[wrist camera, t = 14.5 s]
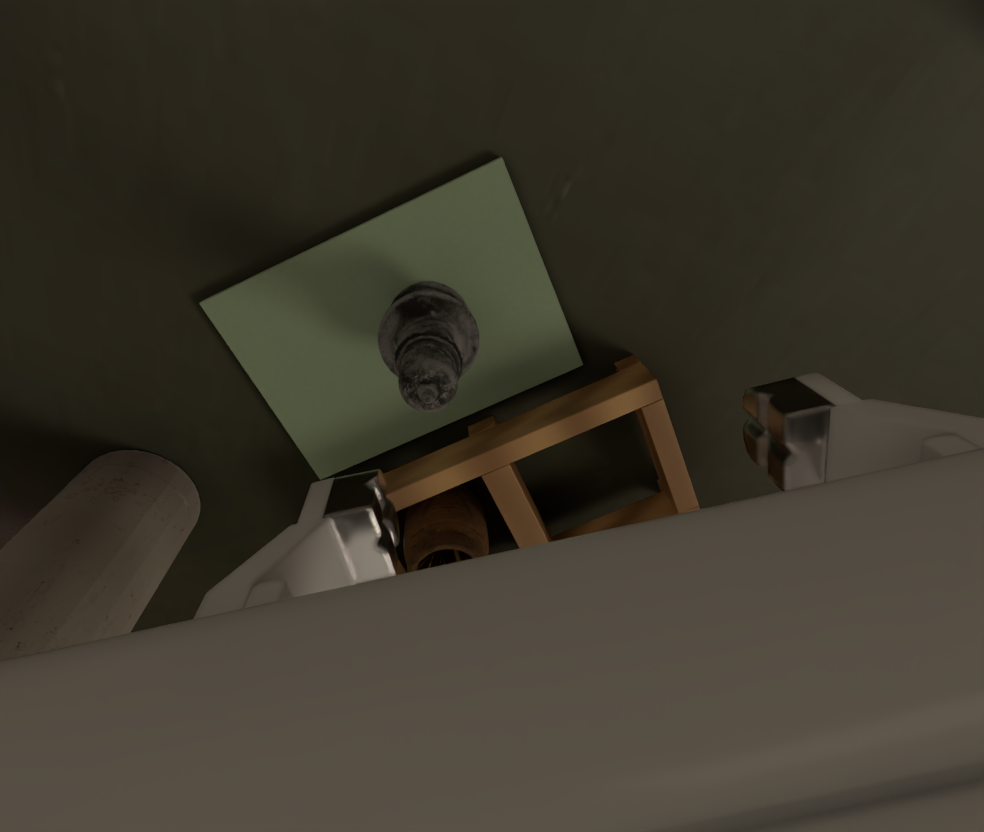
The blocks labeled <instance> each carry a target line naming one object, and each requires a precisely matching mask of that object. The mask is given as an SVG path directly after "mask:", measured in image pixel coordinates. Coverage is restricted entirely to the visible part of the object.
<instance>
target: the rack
mask: <svg viewBox="0 0 984 832" xmlns="http://www.w3.org/2000/svg"><path fill="white" fill-rule="evenodd" d="M614 365H615V367H616V370H617V373H615V374H613V375H610V376H608V377H606V378H603V379H601V380H599V381H596V382H594V383H592V384H590V385H587V386H585V387H583V388H580V389H578V390H576V391H573V392H571V393H569V394H566V395H564V396H562V397H560V398H557V399H555V400H553V401H550V402H548V403H546V404H543V405H541V406H539V407H536V408H534V409H532V410H530V411H527V412H525V413H523V414H520V415H518V416H516V417H513V418H511V419H509V420H506V421H504V422H502V423H500V424H498V423H497V421H496V419H495V417H494V416H491V417H489V418H486V419H484V420H482V421H479V422H477V423H475V424H473V425H470V426H468V432H469V437H467V438H465V439H463V440H460V441H458V442H456V443H453V444H451V445H449V446H447V447H444V448H442V449H440V450H437V451H435V452H433V453H430V454H428V455H426V456H423V457H421V458H419V459H417V460H414V461H412V462H410V463H407V464H405V465H403V466H400V467H398V468H396V469H393V470H391V471H389V472H387V473H384V474H383V475H384V477H385V480H386V483H387V485H388V486H387V495H386V498H388V499H389V500H390V501H392V502H393V504H394V507H395V510H396V512H397V511H399V510H401V509H404V508H406V507H408V506H411V505H413V504H416V503H418V502H420V501H423V500H425V499H427V498H430V497H432V496H434V495H437V494H439V493H441V492H444V491H446V490H448V489H451V488H453V487H455V486H458V485H460V484H463V483H465V482H467V481H470V480H472V479H474V478H477V477H479V476H481V477H482V479H483V480H484V482H485V484H486V486H487V488H488V490H489V492H490V494H491V495H492V497H493V499H494V501H495V503H496V505H497V507H498V509H499V511H500V512H501V514H502V516H503V518H504V520H505V522H506V524H507V526H508V527H509V529H510V531H511V533H512V535H513V537H514V539H515V541H516V543H517V544H518V546H519V548H524V547H529V546H533V545H538V544H543V543H547V542H552V541H556V540H561V539H566V538H570V537H575V536H579V535H584V534H589V533H593V532H598V531H603V530H607V529H612V528H616V527H621V526H626V525H630V524H635V523H640V522H644V521H649V520H653V519H658V518H663V517H667V516H672V515H676V514H681V513H686V512H690V511H695V510H699V509H700V508H699V505H698V502H697V499H696V496H695V493H694V490H693V487H692V484H691V481H690V478H689V475H688V472H687V469H686V466H685V463H684V459H683V456H682V453H681V450H680V447H679V444H678V441H677V438H676V435H675V432H674V429H673V426H672V423H671V420H670V417H669V414H668V411H667V408H666V405H665V402H664V399H663V397H662V394H661V391H660V388H659V385H658V382H657V379H656V378H655V377H654V376H653V375H652V374H651V372H650V371H649V370H648V369H647V368H646V367H645V366H644V365H643V364H642V363H641V361H640V360H639V359H638V358H637V357H636V356H635V355H631V356H629V357H627V358H624V359H622V360H620V361H617V362H615V363H614ZM634 410H635V413H636V416H637V419H638V422H639V424H640V427H641V430H642V433H643V435H644V438H645V441H646V444H647V446H648V449H649V452H650V455H651V457H652V460H653V463H654V466H655V469H656V471H657V474H658V477H659V479H658V480H657V483H658V485H659V488H660V491H661V492H660V493H658V494H655V495H653V496H650V497H648V498H645V499H643V500H640V501H638V502H636V503H633V504H631V505H628V506H626V507H623V508H621V509H618V510H616V511H614V512H611V513H609V514H606V515H604V516H601V517H599V518H596V519H594V520H591V521H589V522H587V523H584V524H582V525H579V526H577V527H574V528H572V529H569V530H567V531H565V532H562V533H560V534H557V535H555V536H553V535H552V533H551V531H550V529H549V527H548V526H545V524H544V522H543V520H542V518H541V516H540V514H539V512H538V510H537V508H536V506H535V504H534V502H533V499H532V497H531V495H530V493H529V491H528V489H527V487H526V485H525V483H524V481H523V479H522V477H521V475H520V473H519V471H518V469H517V467H516V465H515V463H514V461H517V460H519V459H521V458H524V457H526V456H528V455H531V454H533V453H535V452H538V451H540V450H542V449H545V448H547V447H550V446H552V445H554V444H557V443H559V442H561V441H564V440H566V439H568V438H571V437H573V436H575V435H578V434H580V433H582V432H585V431H587V430H589V429H592V428H594V427H597V426H599V425H601V424H604V423H606V422H608V421H611V420H613V419H615V418H618V417H620V416H622V415H625V414H627V413H629V412H632V411H634ZM404 573H407V572H406V570H405V569H404V567H403V566H402V564H401V563H400V561H399V560H398V563H397V573H396V575H399V574H404Z"/></svg>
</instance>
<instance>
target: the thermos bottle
mask: <svg viewBox="0 0 984 832" xmlns="http://www.w3.org/2000/svg"><path fill="white" fill-rule="evenodd" d="M199 514H200V499H199V494H198V492H197V489H196V487H195V485H194V483H193V482H192V481H191V479H190V478H189V476H188V475H187V474H186V473H185V472H184V471H183V470H182V469H181V468H179V467H178V466H176V465H175V464H174V463H172V462H171V461H169V460H167V459H165V458H163V457H161V456H158V455H155V454H152V453H149V452H144V451H138V450H121V451H115V452H110V453H107V454H105V455H102V456H100V457H98V458H97V459H95V460H93V461H92V462H91V463H90V464H89V465H87V466H86V467H85V468H84V469H83V470H82V471H81V472H80V473H79V474H78V475H77V476H76V477H75V478H74V479H73V480H72V481H71V482H70V483H69V484H68V485H67V486H66V487H65V488H64V489H63V490H62V491H61V492H60V493H59V494H58V495H57V496H56V497H55V498H54V499H53V500H52V501H50V502H49V503H48V504H47V505H46V506H45V507H44V508H43V509H42V510H41V511H40V512H39V513H38V514H37V515H36V516H35V517H34V518H33V519H32V520H31V521H30V522H29V523H28V524H26V525H25V526H24V527H23V528H22V529H21V530H20V531H19V532H18V533H17V534H16V535H15V536H14V537H13V538H12V539H11V540H10V541H9V542H8V543H7V544H6V545H5V546H4V547H3V548H2V549H1V550H0V660H4V659H9V658H14V657H20V656H25V655H30V654H36V653H40V652H45V651H50V650H54V649H59V648H64V647H68V646H73V645H77V644H82V643H87V642H91V641H96V640H100V639H105V638H110V637H114V636H119V635H123V634H128V633H130V632H131V630H132V628H133V627H134V625H135V623H136V622H137V620H138V619H139V617H140V615H141V614H142V612H143V610H144V609H145V607H146V605H147V604H148V602H149V600H150V599H151V597H152V595H153V594H154V592H155V590H156V589H157V587H158V585H159V584H160V582H161V580H162V579H163V577H164V575H165V574H166V572H167V571H168V569H169V567H170V566H171V564H172V562H173V561H174V559H175V557H176V556H177V554H178V552H179V551H180V549H181V547H182V546H183V544H184V542H185V541H186V539H187V537H188V536H189V534H190V532H191V531H192V529H193V527H194V526H195V524H196V522H197V520H198V517H199Z"/></svg>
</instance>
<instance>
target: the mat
mask: <svg viewBox="0 0 984 832" xmlns="http://www.w3.org/2000/svg"><path fill="white" fill-rule="evenodd" d="M420 282H437V283H441V284H444V285H446V286H448V287H450V288H452V289H454V290H455V291H456V292H457V293H458V294H459V295H460V296H461V297H462V298H463V300H464V301H465V303H466V305H467V306H468V309H469V310H470V312H471V314H472V315H473V317H474V319H475V320H476V323H477V327H478V330H479V349H478V353H477V357H476V359H475V361H474V362H473V364H472V366H471V368H470V369H469V370H468V371H467V372H466V373H465V374H464V375H463V376H462V377H461V378H460V379H459V380H458V389H457V393H456V396H455V397H454V399H453V401H452V402H451V403H450V404H449V405H448V406H447V407H446V408H444V409H442V410H440V411H436V412H422V411H418V410H416V409H414V408H412V407H411V406H410V405H408V404H407V403H406V402H405V400H404V399H403V397H402V395H401V393H400V390H399V384H398V380H399V379H398V377H397V376H396V375H395V374H394V373H392V372H391V371H390V370H389V368H388V367H387V365H386V364H385V363H384V361H383V359H382V356H381V354H380V351H379V347H378V331H379V326H380V322H381V320H382V318H383V316H384V314H385V312H386V311H387V310H388V309H389V308H390V306H391V304H392V302H393V300H394V298H395V297H396V296H397V295H398V294H399V293H400V292H401V291H402V290H404V289H405V288H407V287H409V286H410V285H413V284H416V283H420ZM199 304H200V305H201V307H202V308H203V310H204V311H205V313H206V314H207V316H208V317H209V319H210V320H211V321H212V323H213V324H214V326H215V327H216V329H217V330H218V332H219V333H220V335H221V336H222V337H223V339H224V340H225V342H226V343H227V345H228V346H229V348H230V349H231V351H232V352H233V353H234V355H235V356H236V358H237V359H238V361H239V362H240V364H241V365H242V367H243V368H244V369H245V371H246V372H247V374H248V375H249V377H250V378H251V380H252V381H253V383H254V384H255V385H256V387H257V388H258V390H259V391H260V393H261V394H262V396H263V397H264V399H265V400H266V402H267V403H268V404H269V406H270V407H271V409H272V410H273V412H274V413H275V415H276V416H277V418H278V419H279V420H280V422H281V423H282V425H283V426H284V428H285V429H286V431H287V432H288V434H289V435H290V436H291V438H292V439H293V441H294V442H295V444H296V445H297V447H298V448H299V450H300V451H301V452H302V454H303V455H304V457H305V458H306V460H307V461H308V463H309V464H310V466H311V467H312V468H313V470H314V471H315V473H316V474H317V476H318V477H319V479H320V480H322V479H324V478H326V477H329V476H331V475H333V474H335V473H338V472H340V471H342V470H345V469H347V468H349V467H351V466H354V465H356V464H358V463H361V462H363V461H365V460H367V459H370V458H372V457H374V456H377V455H379V454H381V453H383V452H386V451H388V450H390V449H393V448H395V447H397V446H399V445H402V444H404V443H406V442H409V441H411V440H413V439H415V438H418V437H420V436H422V435H425V434H427V433H429V432H431V431H434V430H436V429H438V428H441V427H443V426H445V425H447V424H450V423H452V422H454V421H457V420H459V419H461V418H463V417H466V416H468V415H470V414H473V413H475V412H477V411H479V410H482V409H484V408H486V407H489V406H491V405H493V404H495V403H498V402H500V401H502V400H505V399H507V398H509V397H511V396H514V395H516V394H518V393H521V392H523V391H525V390H527V389H530V388H532V387H534V386H537V385H539V384H541V383H543V382H546V381H548V380H550V379H553V378H555V377H557V376H559V375H562V374H564V373H566V372H569V371H571V370H573V369H575V368H578V367H580V366H582V365H583V362H582V360H581V357H580V355H579V352H578V350H577V347H576V345H575V342H574V340H573V337H572V334H571V332H570V329H569V327H568V324H567V322H566V319H565V317H564V314H563V311H562V309H561V306H560V304H559V301H558V299H557V296H556V294H555V291H554V288H553V286H552V283H551V281H550V278H549V276H548V273H547V271H546V268H545V265H544V263H543V260H542V258H541V255H540V253H539V250H538V248H537V245H536V242H535V240H534V237H533V235H532V232H531V230H530V227H529V225H528V222H527V220H526V217H525V214H524V212H523V209H522V207H521V204H520V202H519V199H518V197H517V194H516V191H515V189H514V186H513V184H512V181H511V179H510V176H509V174H508V171H507V168H506V166H505V163H504V161H503V158H502V157H499V158H497V159H495V160H493V161H491V162H489V163H487V164H484V165H482V166H480V167H478V168H476V169H474V170H472V171H470V172H468V173H466V174H464V175H462V176H460V177H458V178H455V179H453V180H451V181H449V182H447V183H445V184H443V185H441V186H439V187H437V188H435V189H433V190H431V191H428V192H426V193H424V194H422V195H420V196H418V197H416V198H414V199H412V200H410V201H408V202H406V203H404V204H401V205H399V206H397V207H395V208H393V209H391V210H389V211H387V212H385V213H383V214H381V215H379V216H377V217H375V218H372V219H370V220H368V221H366V222H364V223H362V224H360V225H358V226H356V227H354V228H352V229H350V230H348V231H345V232H343V233H341V234H339V235H337V236H335V237H333V238H331V239H329V240H327V241H325V242H323V243H321V244H318V245H316V246H314V247H312V248H310V249H308V250H306V251H304V252H302V253H300V254H298V255H296V256H294V257H292V258H289V259H287V260H285V261H283V262H281V263H279V264H277V265H275V266H273V267H271V268H269V269H267V270H265V271H262V272H260V273H258V274H256V275H254V276H252V277H250V278H248V279H246V280H244V281H242V282H240V283H238V284H235V285H233V286H231V287H229V288H227V289H225V290H223V291H221V292H219V293H217V294H215V295H213V296H211V297H209V298H206V299H204V300H202V301H201V302H200V303H199Z"/></svg>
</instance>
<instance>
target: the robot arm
mask: <svg viewBox="0 0 984 832" xmlns="http://www.w3.org/2000/svg"><path fill="white" fill-rule="evenodd" d="M743 409H744V410H745V411H746V412H747V413H748V414H749V415H750V416H749V418H748V419H747V421H746V422H745V424H744V425H743V434H744V442H745V445H746V449H747V452H748V454H749V455H750V457H751V459H752V460H753V461H754V462H755V463H756V464H757V465H758V466H761V467H765V468H768V477H769V478H770V479H771V480H772V481H773V482H774V483H775V484H776V485H777V486H778V487H779V488H780V489H781V490H782V492H778V493H773V494H768V495H764V496H759V497H755V498H750V499H745V500H741V501H736V502H732V503H727V504H722V505H718V506H713V507H709V508H704V509H699V510H695V511H690V512H686V513H681V514H676V515H672V516H667V517H663V518H658V519H653V520H649V521H644V522H640V523H635V524H630V525H626V526H621V527H616V528H612V529H607V530H603V531H598V532H593V533H589V534H584V535H579V536H575V537H570V538H566V539H561V540H556V541H552V542H547V543H543V544H538V545H533V546H529V547H524V548H519V549H515V550H510V551H506V552H501V553H496V554H492V555H487V556H482V557H478V558H473V559H469V560H464V561H459V562H455V563H450V564H445V565H441V566H436V567H432V568H427V569H422V570H418V571H413V572H409V573H404V574H399V575H396V573H397V563H398V555H397V552H396V549H395V547H396V546H397V545H398V544H399V539H400V532H399V522H398V518H397V513H396V510H395V507H394V504H393V502H392V501H390V500H389V499H388V498H386V495H387V486H388V485H387V483H386V480H385V477H384V475H383V472H382V471H381V470H380V469H377V470H372V471H367V472H362V473H357V474H352V475H347V476H342V477H337V478H330V479H326V480H322V481H318V482H315V483H312V484H311V486H310V489H309V492H308V494H307V497H306V500H305V503H304V506H303V508H302V511H301V514H300V517H299V520H298V522H297V524H294V525H290V526H289V527H288V528H287V529H285V530H284V531H283V532H282V533H280V534H279V535H278V536H277V537H275V538H274V539H273V540H272V541H270V542H269V543H268V544H267V545H265V546H264V547H263V548H262V549H260V550H259V551H258V552H257V553H255V554H254V555H253V556H252V557H251V558H249V559H248V560H247V561H246V562H244V563H243V564H242V565H241V566H239V567H238V568H237V569H236V570H234V571H233V572H232V573H231V574H229V575H228V576H227V577H226V578H224V579H223V580H222V581H221V582H219V583H218V584H217V585H216V586H214V587H213V588H212V589H211V590H210V591H208V592H207V593H206V595H205V597H204V599H203V601H202V603H201V605H200V607H199V609H198V611H197V613H196V615H195V617H194V619H193V620H188V621H183V622H179V623H174V624H170V625H165V626H160V627H156V628H151V629H147V630H142V631H137V632H133V633H128V634H123V635H119V636H114V637H110V638H105V639H100V640H96V641H91V642H87V643H82V644H77V645H73V646H68V647H64V648H59V649H54V650H50V651H45V652H40V653H36V654H30V655H25V656H20V657H14V658H9V659H4V660H0V832H984V418H979V417H973V416H968V415H962V414H956V413H950V412H944V411H938V410H932V409H926V408H920V407H914V406H908V405H902V404H897V403H891V402H885V401H879V400H873V399H867V400H861V399H859V398H858V397H856V396H855V395H853V394H851V393H850V392H848V391H846V390H845V389H843V388H842V387H840V386H838V385H837V384H835V383H834V382H832V381H830V380H829V379H827V378H826V377H824V376H822V375H821V374H819V373H810V374H806V375H802V376H799V377H795V378H789V379H785V380H781V381H777V382H773V383H769V384H765V385H761V386H757V387H752V388H749V389H747V390H745V392H744V396H743Z"/></svg>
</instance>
